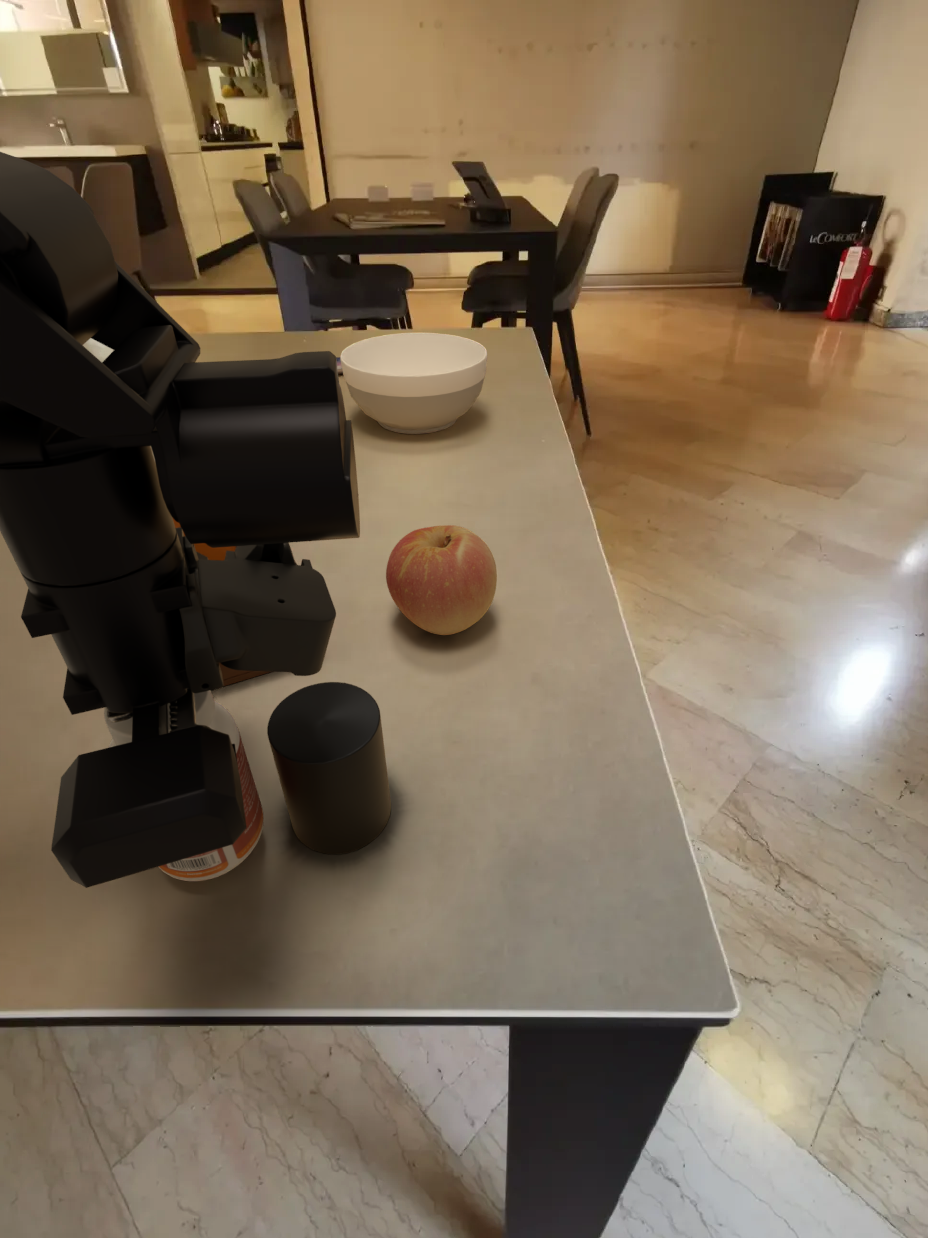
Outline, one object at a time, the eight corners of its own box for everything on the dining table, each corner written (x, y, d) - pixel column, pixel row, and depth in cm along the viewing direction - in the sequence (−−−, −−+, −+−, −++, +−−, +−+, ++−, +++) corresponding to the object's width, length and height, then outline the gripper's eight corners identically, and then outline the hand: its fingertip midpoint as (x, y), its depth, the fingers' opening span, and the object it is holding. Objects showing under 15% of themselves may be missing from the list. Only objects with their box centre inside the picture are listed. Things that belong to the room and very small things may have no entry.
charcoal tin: (274, 842, 39) (246, 751, 34) (316, 764, 44) (296, 673, 39) (371, 864, 38) (356, 773, 33) (403, 781, 42) (395, 690, 37)
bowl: (336, 403, 96) (328, 339, 90) (461, 388, 100) (461, 327, 95) (362, 455, 81) (355, 383, 76) (507, 435, 86) (509, 366, 81)
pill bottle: (231, 774, 42) (188, 637, 35) (286, 836, 38) (251, 698, 31) (132, 835, 38) (63, 697, 31) (184, 909, 35) (119, 772, 28)
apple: (429, 667, 51) (424, 581, 46) (371, 611, 57) (361, 528, 52) (517, 625, 55) (521, 541, 50) (454, 576, 61) (453, 497, 56)
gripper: (354, 642, 21) (389, 899, 31) (275, 431, 35) (316, 654, 45) (-41, 733, 18) (133, 987, 28) (42, 463, 32) (139, 694, 42)
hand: (198, 795), depth 36 cm, fingers closed on pill bottle, 6 cm apart
